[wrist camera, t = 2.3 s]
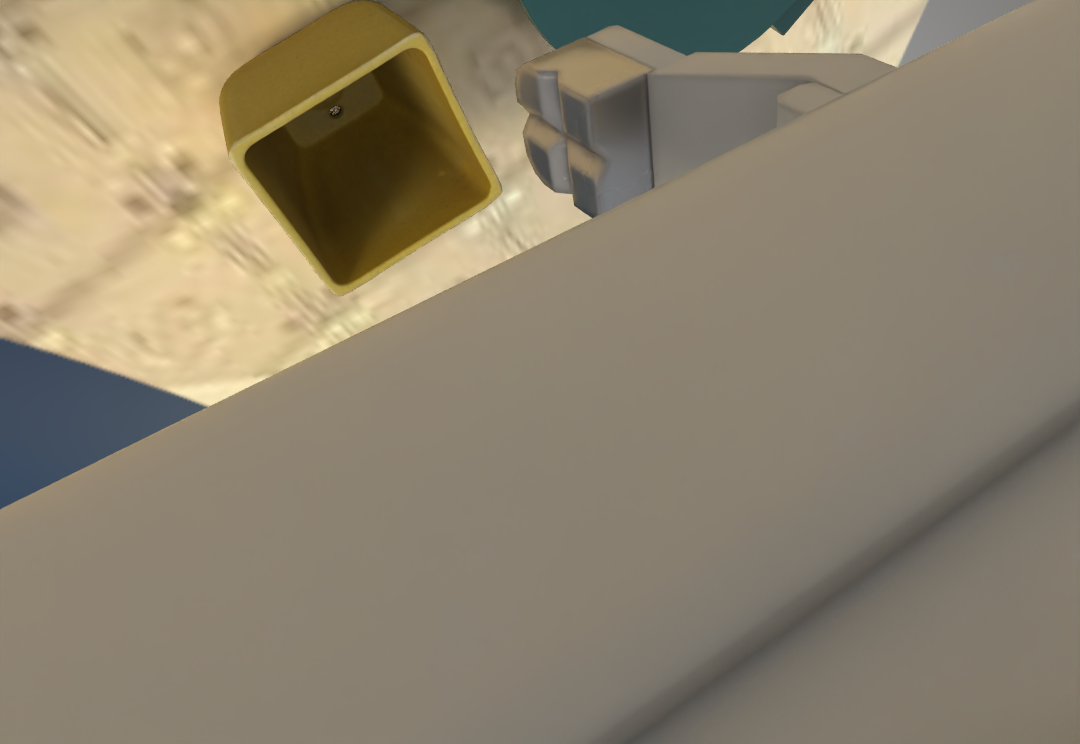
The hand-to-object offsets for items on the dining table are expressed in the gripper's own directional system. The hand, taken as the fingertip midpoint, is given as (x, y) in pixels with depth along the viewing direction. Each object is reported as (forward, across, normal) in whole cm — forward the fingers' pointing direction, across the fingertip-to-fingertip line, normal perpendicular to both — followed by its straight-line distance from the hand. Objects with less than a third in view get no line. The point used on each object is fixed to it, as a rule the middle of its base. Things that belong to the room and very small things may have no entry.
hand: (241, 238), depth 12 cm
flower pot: (+33, -11, +13) cm, 37 cm away
